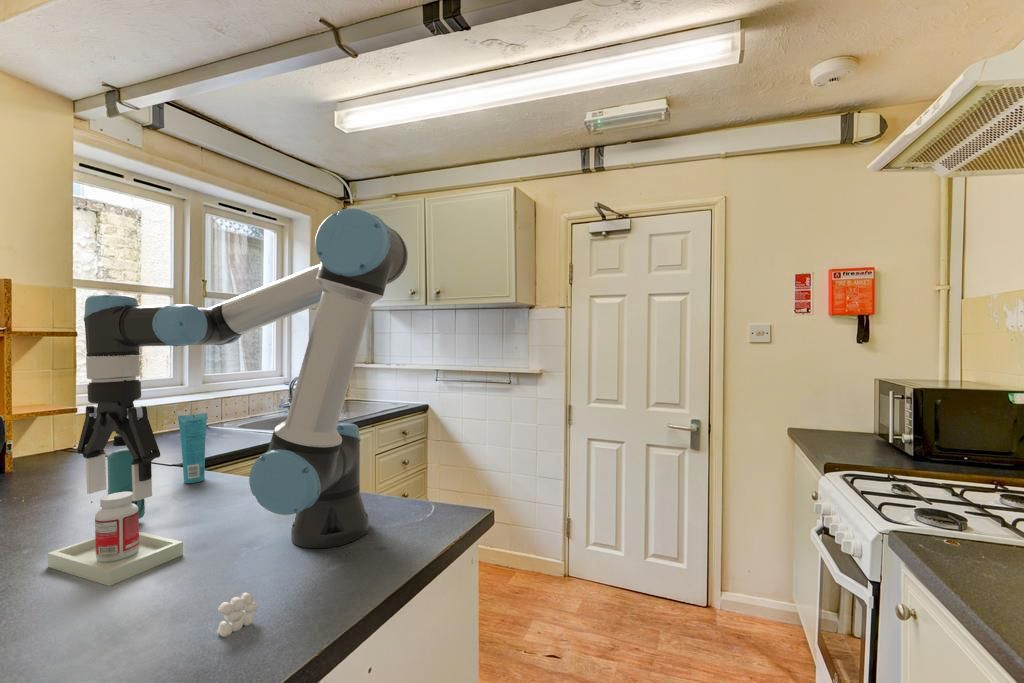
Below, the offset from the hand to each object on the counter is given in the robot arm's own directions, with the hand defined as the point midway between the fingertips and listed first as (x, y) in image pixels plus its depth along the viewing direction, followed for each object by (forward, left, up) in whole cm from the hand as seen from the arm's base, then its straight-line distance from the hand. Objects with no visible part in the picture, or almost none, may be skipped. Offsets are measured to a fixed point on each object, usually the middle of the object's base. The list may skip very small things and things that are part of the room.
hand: (119, 495), depth 87 cm
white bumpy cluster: (-39, +6, -12) cm, 41 cm away
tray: (0, 0, -12) cm, 12 cm away
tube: (+35, -38, -12) cm, 53 cm away
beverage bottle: (+17, -11, -12) cm, 24 cm away
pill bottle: (0, 0, -11) cm, 11 cm away
